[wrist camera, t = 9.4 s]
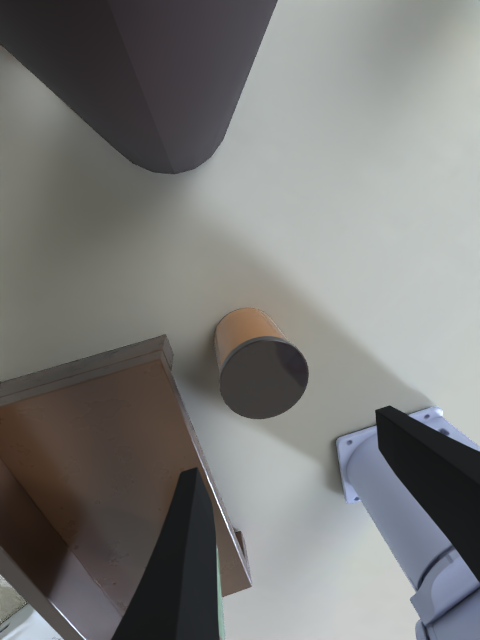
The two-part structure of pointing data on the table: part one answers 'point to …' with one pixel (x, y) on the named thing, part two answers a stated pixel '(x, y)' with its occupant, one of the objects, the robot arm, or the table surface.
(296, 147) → the table surface
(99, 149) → the table surface
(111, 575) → the spice shelf
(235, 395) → the ochre jar
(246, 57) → the vinegar
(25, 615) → the hard drive
